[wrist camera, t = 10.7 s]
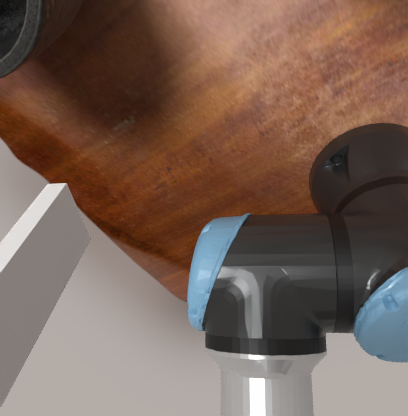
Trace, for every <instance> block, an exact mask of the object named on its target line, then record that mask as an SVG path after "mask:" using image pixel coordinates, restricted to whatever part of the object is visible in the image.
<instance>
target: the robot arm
mask: <svg viewBox="0 0 408 416" xmlns="http://www.w3.org/2000/svg"><path fill="white" fill-rule="evenodd" d="M309 185H310V192H311V197H312V200H313V203H314V205H315V207H316V209H317V210H318V212H319V214H289V215H252V214H245V215H243V216H234V217H222V218H216V219H213V220H212V221H210V222H209V223H208V224H207V225H206V226H205V227H204V228H203V230H202V232H201V234H200V236H199V238H198V241H197V244H196V247H195V251H194V255H193V259H192V264H191V269H190V276H189V285H188V305H189V310H188V316H189V321H190V324H191V325H192V327H193V328H196V329H198V330H199V331H205V332H206V339H205V344H206V346H205V350H206V352H208V354H209V355H210V356H211V357H212V358H213V359H214V360H215V361H216V362H217V364H218V365H219V367H220V369H221V416H313V398H312V381H311V372H312V370H313V368H314V367H315V366H316V365H317V364H318V363H319V361H321V360H322V359H323V358H324V357H325V355H326V352H327V350H326V333H329V332H331V333H354V336H355V337H356V341H357V342H358V343H359V344H360V346H361V347H362V348H363V350H365V351H366V352H367V353H368V354H370V355H372V356H377V357H378V358H379V359H382V360H385V361H391V362H408V128H407V127H405V126H401V125H397V124H389V123H378V124H370V125H365V126H361V127H358V128H355V129H352V130H350V131H347V132H345V133H344V134H342V135H340V136H338V137H337V138H335V139H334V140H333V141H331V142H330V143H329V144H328V145H327V146H326V147H325V148H324V149H323V150H322V151H321V152H320V153H319V155H318V156H317V158H316V159H315V161H314V163H313V165H312V168H311V171H310V177H309ZM90 240H91V238H90V236H89V234H88V231H87V229H86V227H85V224H84V222H83V220H82V218H81V215H80V213H79V211H78V208H77V206H76V204H75V202H74V199H73V197H72V195H71V192H70V190H69V188H68V185H67V183H62V184H47V185H46V187H45V188H44V189H43V190H42V192H41V193H40V194H39V195H38V197H37V198H36V199H35V200H34V202H33V203H32V204H31V205H30V207H29V208H28V209H27V210H26V212H25V213H24V214H23V215H22V216H21V218H20V219H19V220H18V221H17V223H16V224H15V225H14V227H13V228H12V229H11V230H10V231H9V233H8V234H7V235H6V236H5V238H4V239H3V240H2V241H1V243H0V407H1V406H2V404H3V402H4V400H5V399H6V397H7V395H8V393H9V391H10V389H11V387H12V386H13V384H14V382H15V380H16V378H17V376H18V374H19V372H20V371H21V369H22V367H23V365H24V363H25V361H26V359H27V357H28V356H29V354H30V352H31V350H32V348H33V346H34V344H35V343H36V341H37V339H38V337H39V335H40V333H41V331H42V329H43V327H44V326H45V324H46V322H47V320H48V318H49V316H50V314H51V313H52V311H53V309H54V307H55V305H56V303H57V301H58V299H59V297H60V295H61V294H62V292H63V290H64V288H65V286H66V284H67V282H68V281H69V279H70V277H71V275H72V273H73V271H74V269H75V268H76V266H77V264H78V262H79V260H80V258H81V256H82V254H83V253H84V251H85V249H86V247H87V245H88V243H89V241H90Z"/></svg>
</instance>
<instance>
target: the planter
mask: <svg viewBox="0 0 408 416" xmlns="http://www.w3.org/2000/svg"><path fill="white" fill-rule="evenodd" d="M82 3H83V0H0V78H3V77H5V76H7V75H9V74H11V73H13V72H15V71H17V70H18V69H20V68H21V67H23V66H24V65H25V64H27V63H28V62H30V61H31V60H33V59H35V58H36V57H37V56H39V55H40V54H41V53H42V52H43V51H44V50H45V49H47V48H48V47H49V46H50V45H51V44H52V43H54V42H55V41H56V40H57V39H58V38H59V37H60V36H61V35H62V34H63V33H64V32H65V30H66V29H67V28H68V27H69V25H70V24H71V23H72V21H73V20H74V19H75V17H76V15H77V13H78V11H79V9H80V7H81V5H82Z"/></svg>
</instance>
